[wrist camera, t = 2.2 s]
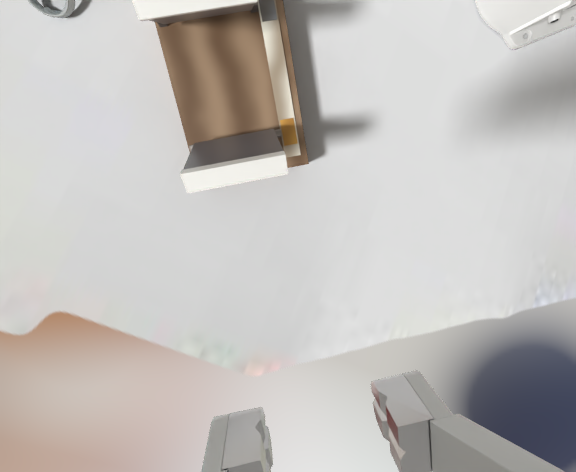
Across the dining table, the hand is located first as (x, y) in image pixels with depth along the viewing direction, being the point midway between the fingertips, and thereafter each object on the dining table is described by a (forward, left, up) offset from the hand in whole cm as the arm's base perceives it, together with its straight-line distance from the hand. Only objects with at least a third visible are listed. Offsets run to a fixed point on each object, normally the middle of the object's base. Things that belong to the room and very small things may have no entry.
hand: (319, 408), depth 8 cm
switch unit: (+2, -20, -39) cm, 44 cm away
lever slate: (+3, -28, -34) cm, 44 cm away
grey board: (+3, -12, -34) cm, 36 cm away
